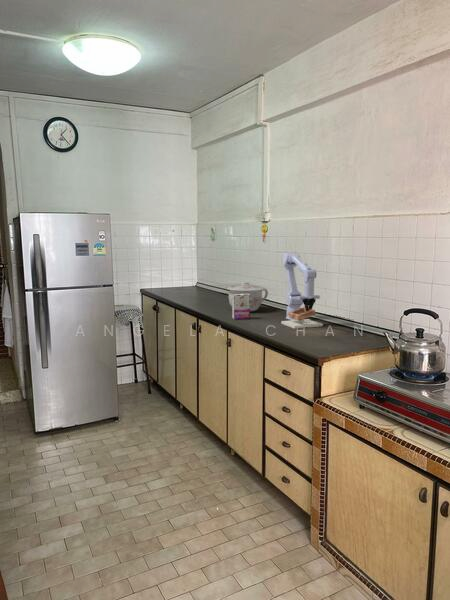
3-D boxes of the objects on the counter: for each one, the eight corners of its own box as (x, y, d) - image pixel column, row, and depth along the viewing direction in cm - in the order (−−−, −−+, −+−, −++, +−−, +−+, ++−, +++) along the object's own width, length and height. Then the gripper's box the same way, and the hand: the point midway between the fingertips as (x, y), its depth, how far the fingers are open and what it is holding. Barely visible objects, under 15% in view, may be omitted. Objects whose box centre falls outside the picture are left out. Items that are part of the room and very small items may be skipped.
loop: (289, 317, 286) (288, 312, 286) (305, 311, 290) (304, 306, 290) (299, 320, 275) (298, 316, 275) (315, 314, 279) (314, 310, 279)
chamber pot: (221, 312, 325) (221, 283, 322) (233, 306, 351) (233, 279, 348) (259, 315, 316) (260, 285, 313) (268, 309, 342) (269, 281, 339)
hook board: (281, 323, 287) (281, 313, 286) (308, 321, 295) (308, 311, 294) (294, 328, 272) (294, 317, 271) (322, 326, 280) (323, 315, 279)
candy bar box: (247, 317, 306) (248, 293, 304) (250, 319, 302) (250, 294, 299) (231, 318, 303) (232, 293, 301) (233, 319, 299) (234, 294, 296)
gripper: (302, 290, 276) (301, 312, 278) (322, 289, 281) (322, 310, 283) (296, 288, 282) (295, 310, 284) (316, 287, 288) (315, 309, 290)
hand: (308, 310), depth 284 cm, fingers closed on loop, 2 cm apart
